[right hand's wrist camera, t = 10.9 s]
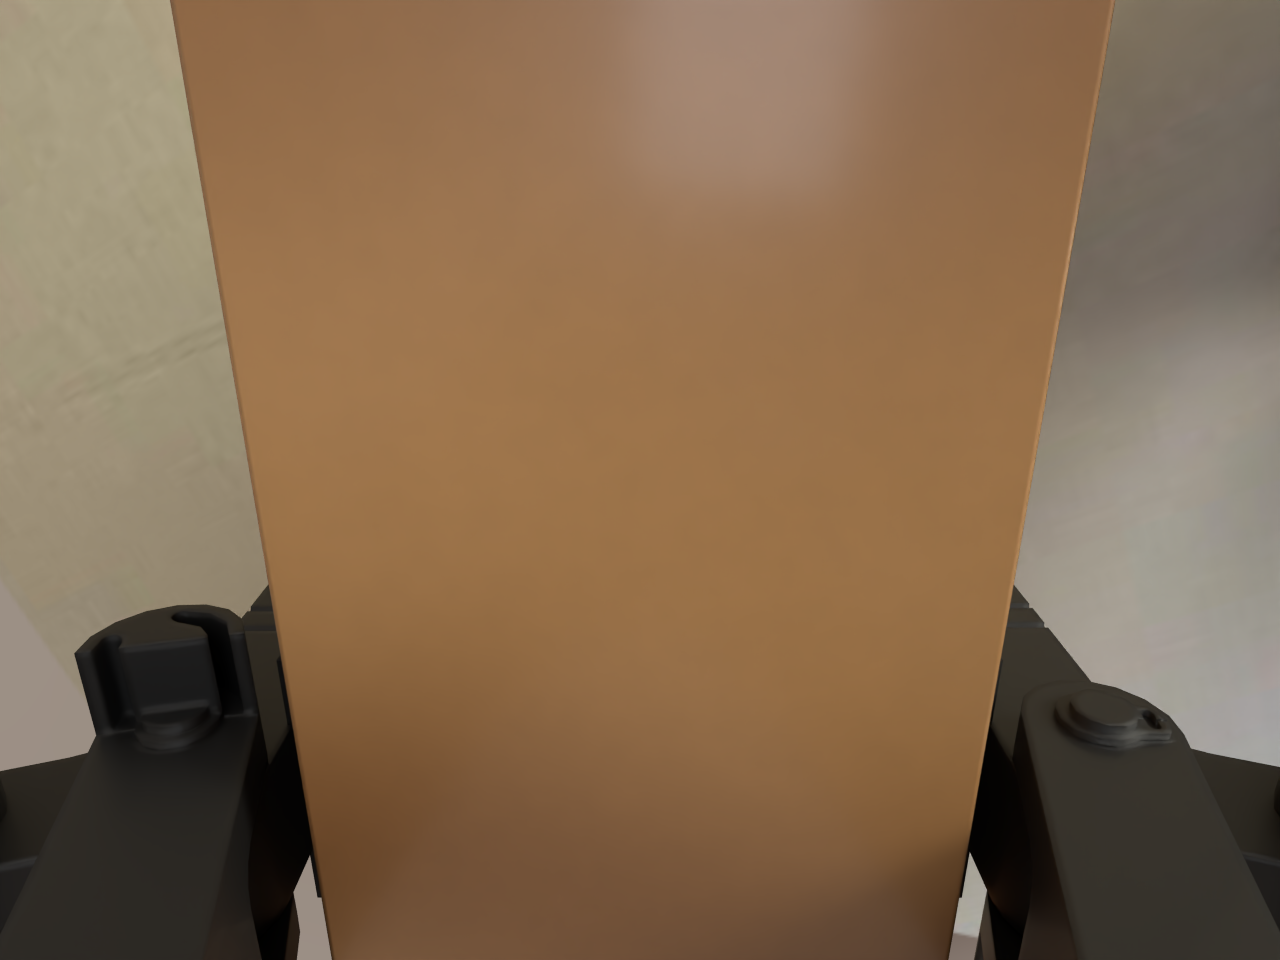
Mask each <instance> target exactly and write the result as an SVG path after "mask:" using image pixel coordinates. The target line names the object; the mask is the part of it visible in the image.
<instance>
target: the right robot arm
mask: <svg viewBox="0 0 1280 960" xmlns="http://www.w3.org/2000/svg"><path fill="white" fill-rule="evenodd" d="M74 654H75V658H76V662H77V665H78V669H79V673H80V677H81V680H82V684H83V688H84V691H85V695H86V699H87V702H88V706H89V710H90V714H91V717H92V721H93V725H94V728H95V732H96V737H95V739H94V741H93V743H92V745H91V748H90V750H89V752H88V753H86V754H82V755H78V756H74V757H70V758H65V759H60V760H55V761H50V762H45V763H40V764H35V765H30V766H25V767H20V768H14V769H9V770H4V771H0V960H297V953H298V944H299V936H300V929H299V922H298V915H297V910H296V904H295V899H294V893H293V892H294V889H295V887H296V885H297V883H298V881H299V878H300V876H301V874H302V872H303V869H304V867H305V865H306V863H307V860H308V858H309V856H310V857H311V863H312V868H313V874H314V880H315V885H316V891H317V897H321V891H320V886H319V880H318V874H317V868H316V862H315V856H314V850H313V844H312V838H311V832H310V826H309V820H308V814H307V808H306V803H305V797H304V791H303V785H302V779H301V773H300V767H299V761H298V755H297V749H296V743H295V737H294V731H293V725H292V720H291V714H290V708H289V702H288V696H287V690H286V684H285V678H284V672H283V666H282V660H281V654H280V648H279V642H278V637H277V631H276V625H275V619H274V613H273V607H272V601H271V595H270V589H269V584H268V586H267V587H266V588H265V590H264V591H263V592H262V593H261V595H260V596H259V597H258V598H257V600H256V601H255V602H254V603H253V605H252V606H251V611H247V612H246V614H245V615H244V616H243V617H242V619H241V618H240V617H239V616H237V615H236V614H235V613H233V612H232V611H230V610H229V609H225V608H220V607H215V606H210V605H177V606H172V607H166V608H161V609H156V610H151V611H146V612H143V613H140V614H137V615H135V616H132V617H129V618H126V619H124V620H121V621H118V622H115V623H114V624H112V625H110V626H108V627H107V628H105V629H103V630H101V631H100V632H98V633H96V634H95V635H93V636H91V637H90V638H89V639H88V640H87V641H86V642H85V643H84V644H83V645H82V646H81V647H80V648H79V649H78V650H77V651H76V652H75V653H74ZM969 853H971V855H972V857H973V860H974V862H975V864H976V866H977V869H978V871H979V873H980V875H981V877H982V880H983V882H984V884H985V886H986V889H987V893H986V899H985V904H984V909H983V915H982V920H981V925H980V931H979V936H978V942H977V947H976V952H975V958H974V960H1280V767H1276V766H1271V765H1266V764H1261V763H1256V762H1251V761H1246V760H1240V759H1235V758H1230V757H1225V756H1220V755H1215V754H1210V753H1206V752H1202V751H1198V750H1194V749H1191V748H1190V746H1189V744H1188V742H1187V740H1186V738H1185V736H1184V734H1183V733H1182V731H1181V730H1180V729H1179V728H1178V726H1177V725H1176V724H1175V723H1174V721H1173V720H1172V719H1171V718H1170V716H1168V715H1167V714H1165V713H1164V712H1163V711H1161V710H1160V709H1158V708H1157V707H1155V706H1154V705H1152V704H1151V703H1149V702H1148V701H1146V700H1145V699H1142V698H1140V697H1137V696H1135V695H1133V694H1130V693H1128V692H1126V691H1123V690H1121V689H1118V688H1116V687H1111V686H1107V685H1102V684H1098V683H1093V682H1091V681H1090V680H1089V678H1088V677H1087V676H1086V675H1085V673H1084V672H1083V671H1082V670H1081V668H1080V667H1079V666H1078V665H1077V663H1076V662H1075V661H1074V660H1073V658H1072V657H1071V656H1070V655H1069V653H1068V652H1067V651H1066V650H1065V648H1064V647H1063V646H1062V645H1061V643H1060V642H1059V641H1058V640H1057V638H1056V637H1055V636H1054V635H1053V633H1052V632H1051V631H1050V629H1049V628H1044V622H1043V621H1042V619H1041V618H1040V617H1039V616H1038V614H1037V613H1036V612H1035V611H1034V609H1033V608H1029V603H1028V602H1027V601H1026V599H1025V598H1024V597H1023V596H1022V594H1021V593H1020V592H1019V591H1018V589H1017V588H1016V587H1015V586H1014V585H1013V591H1012V596H1011V602H1010V608H1009V614H1008V619H1007V625H1006V631H1005V637H1004V642H1003V648H1002V654H1001V660H1000V665H999V671H998V677H997V683H996V688H995V694H994V700H993V706H992V711H991V717H990V723H989V729H988V734H987V740H986V746H985V752H984V757H983V763H982V769H981V775H980V780H979V786H978V792H977V798H976V803H975V809H974V815H973V821H972V826H971V832H970V838H969V844H968V849H967V855H966V861H965V867H964V872H963V878H962V884H961V890H960V895H959V898H962V893H963V887H964V881H965V876H966V870H967V864H968V858H969Z"/></svg>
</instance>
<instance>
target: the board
mask: <svg viewBox="0 0 1280 960" xmlns="http://www.w3.org/2000/svg"><path fill="white" fill-rule="evenodd" d="M170 2H171V8H172V14H173V20H174V26H175V32H176V38H177V44H178V50H179V55H180V61H181V67H182V73H183V79H184V85H185V91H186V97H187V103H188V109H189V115H190V121H191V127H192V133H193V138H194V144H195V150H196V156H197V162H198V168H199V174H200V180H201V186H202V192H203V198H204V204H205V210H206V216H207V222H208V227H209V233H210V239H211V245H212V251H213V257H214V263H215V269H216V275H217V281H218V287H219V293H220V299H221V305H222V310H223V316H224V322H225V328H226V334H227V340H228V346H229V352H230V358H231V364H232V370H233V376H234V382H235V388H236V393H237V399H238V405H239V411H240V417H241V423H242V429H243V435H244V441H245V447H246V453H247V459H248V465H249V471H250V476H251V482H252V488H253V494H254V500H255V506H256V512H257V518H258V524H259V530H260V536H261V542H262V548H263V554H264V559H265V565H266V571H267V577H268V583H269V589H270V595H271V601H272V607H273V613H274V619H275V625H276V631H277V637H278V642H279V648H280V654H281V660H282V666H283V672H284V678H285V684H286V690H287V696H288V702H289V708H290V714H291V720H292V725H293V731H294V737H295V743H296V749H297V755H298V761H299V767H300V773H301V779H302V785H303V791H304V797H305V803H306V808H307V814H308V820H309V826H310V832H311V838H312V844H313V850H314V856H315V862H316V868H317V874H318V880H319V886H320V891H321V897H322V903H323V909H324V915H325V921H326V927H327V933H328V939H329V945H330V951H331V956H332V960H948V959H949V953H950V947H951V941H952V936H953V930H954V924H955V918H956V913H957V907H958V901H959V895H960V890H961V884H962V878H963V872H964V867H965V861H966V855H967V849H968V844H969V838H970V832H971V826H972V821H973V815H974V809H975V803H976V798H977V792H978V786H979V780H980V775H981V769H982V763H983V757H984V752H985V746H986V740H987V734H988V729H989V723H990V717H991V711H992V706H993V700H994V694H995V688H996V683H997V677H998V671H999V665H1000V660H1001V654H1002V648H1003V642H1004V637H1005V631H1006V625H1007V619H1008V614H1009V608H1010V602H1011V596H1012V591H1013V585H1014V579H1015V573H1016V568H1017V562H1018V556H1019V550H1020V545H1021V539H1022V533H1023V527H1024V522H1025V516H1026V510H1027V504H1028V499H1029V493H1030V487H1031V482H1032V476H1033V470H1034V464H1035V459H1036V453H1037V447H1038V441H1039V436H1040V430H1041V424H1042V418H1043V413H1044V407H1045V401H1046V395H1047V390H1048V384H1049V378H1050V372H1051V367H1052V361H1053V355H1054V349H1055V344H1056V338H1057V332H1058V326H1059V321H1060V315H1061V309H1062V303H1063V298H1064V292H1065V286H1066V280H1067V275H1068V269H1069V263H1070V257H1071V252H1072V246H1073V240H1074V234H1075V229H1076V223H1077V217H1078V211H1079V206H1080V200H1081V194H1082V188H1083V183H1084V177H1085V171H1086V165H1087V160H1088V154H1089V148H1090V142H1091V137H1092V131H1093V125H1094V119H1095V114H1096V108H1097V102H1098V96H1099V91H1100V85H1101V79H1102V73H1103V68H1104V62H1105V56H1106V50H1107V45H1108V39H1109V33H1110V27H1111V22H1112V16H1113V10H1114V4H1115V0H170Z"/></svg>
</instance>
